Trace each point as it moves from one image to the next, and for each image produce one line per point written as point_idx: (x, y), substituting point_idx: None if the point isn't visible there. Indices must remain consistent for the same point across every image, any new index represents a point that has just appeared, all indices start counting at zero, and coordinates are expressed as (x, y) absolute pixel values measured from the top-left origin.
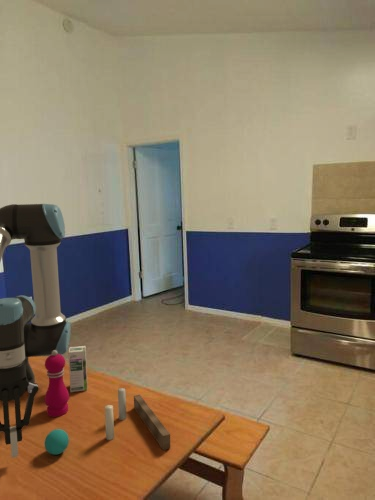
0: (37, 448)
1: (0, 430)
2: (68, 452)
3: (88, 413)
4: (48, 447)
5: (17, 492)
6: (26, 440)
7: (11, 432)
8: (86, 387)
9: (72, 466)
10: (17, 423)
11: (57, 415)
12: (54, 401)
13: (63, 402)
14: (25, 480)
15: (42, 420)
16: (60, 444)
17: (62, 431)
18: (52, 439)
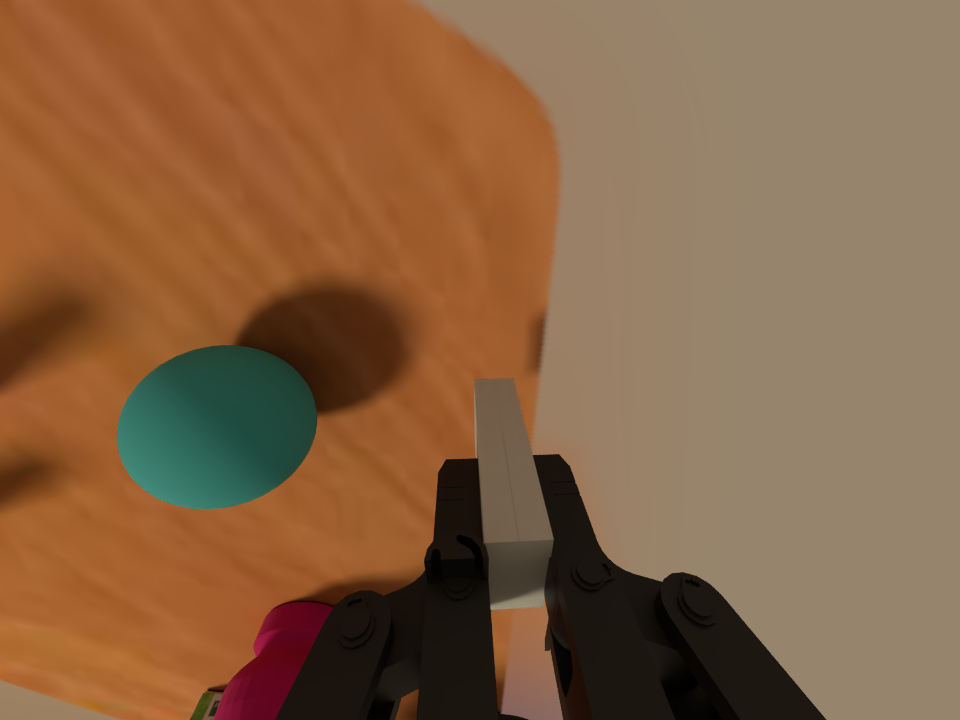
0: (381, 447)
1: (674, 595)
2: None
3: (160, 587)
4: (275, 383)
5: (491, 93)
6: (433, 511)
7: (538, 542)
8: (196, 708)
9: (134, 206)
10: (473, 656)
11: (304, 606)
12: (282, 697)
13: (244, 678)
14: (439, 205)
15: None
16: (169, 369)
17: (130, 470)
18: (212, 417)
